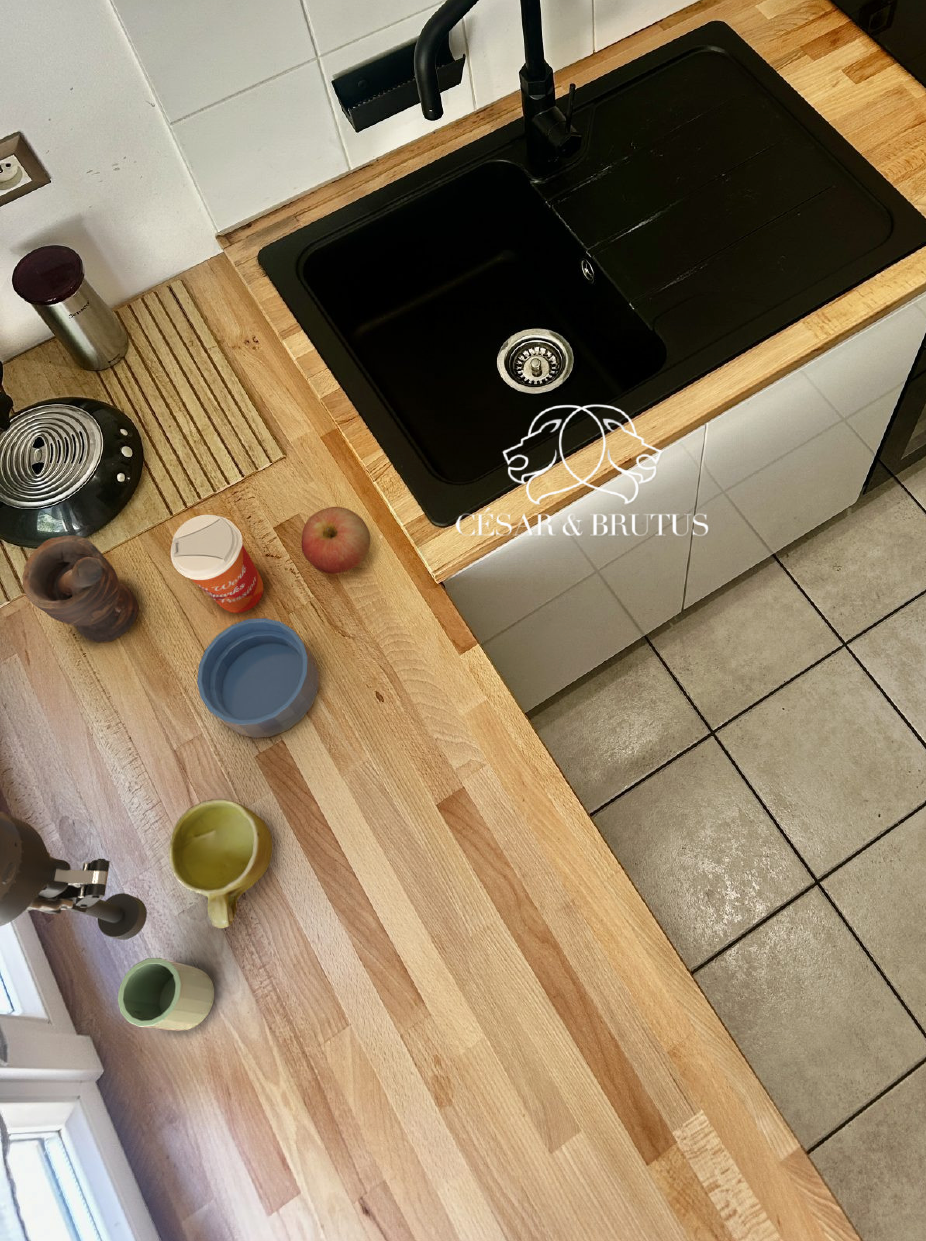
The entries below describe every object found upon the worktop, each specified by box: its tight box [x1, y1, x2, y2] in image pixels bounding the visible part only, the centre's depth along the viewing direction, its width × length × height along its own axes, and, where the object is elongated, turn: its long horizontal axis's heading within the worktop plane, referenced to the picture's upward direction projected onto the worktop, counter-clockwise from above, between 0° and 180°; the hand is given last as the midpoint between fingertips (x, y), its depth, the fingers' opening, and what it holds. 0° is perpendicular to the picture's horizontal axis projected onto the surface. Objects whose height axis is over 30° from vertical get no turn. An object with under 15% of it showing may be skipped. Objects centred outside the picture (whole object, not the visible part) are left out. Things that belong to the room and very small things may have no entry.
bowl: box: [196, 617, 320, 739], centre depth 128 cm, size 12×12×6 cm
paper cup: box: [170, 514, 264, 614], centre depth 130 cm, size 8×8×14 cm
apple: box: [301, 506, 371, 575], centre depth 135 cm, size 8×8×8 cm
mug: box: [167, 798, 273, 929], centre depth 118 cm, size 12×10×10 cm
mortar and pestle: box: [21, 535, 139, 643], centre depth 127 cm, size 12×9×20 cm
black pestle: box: [82, 892, 148, 941], centre depth 94 cm, size 4×4×17 cm
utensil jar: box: [117, 957, 215, 1032], centre depth 111 cm, size 6×6×10 cm
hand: (71, 899), depth 91 cm, fingers closed on black pestle, 1 cm apart
